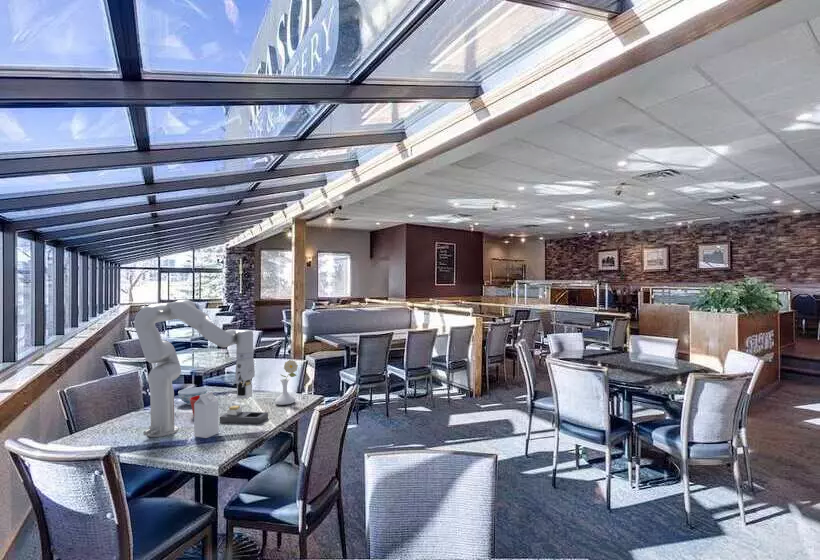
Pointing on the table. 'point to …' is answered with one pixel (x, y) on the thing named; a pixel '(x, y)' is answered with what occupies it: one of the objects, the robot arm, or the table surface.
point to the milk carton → (206, 416)
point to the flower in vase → (285, 396)
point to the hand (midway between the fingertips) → (244, 393)
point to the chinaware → (191, 393)
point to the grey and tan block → (246, 391)
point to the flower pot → (194, 402)
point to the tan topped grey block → (234, 411)
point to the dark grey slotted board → (245, 418)
